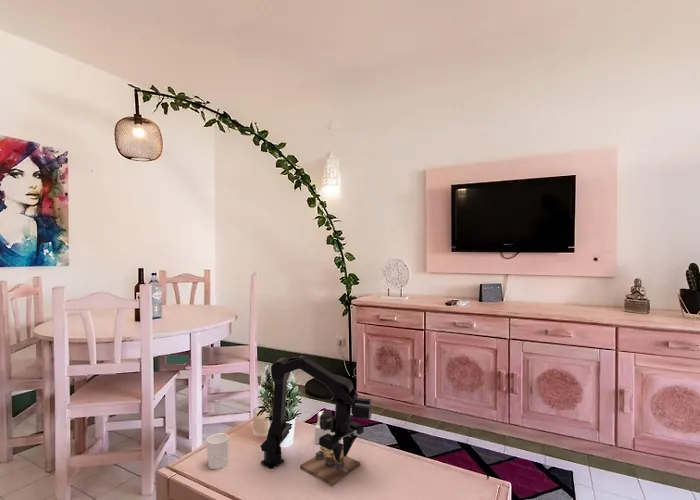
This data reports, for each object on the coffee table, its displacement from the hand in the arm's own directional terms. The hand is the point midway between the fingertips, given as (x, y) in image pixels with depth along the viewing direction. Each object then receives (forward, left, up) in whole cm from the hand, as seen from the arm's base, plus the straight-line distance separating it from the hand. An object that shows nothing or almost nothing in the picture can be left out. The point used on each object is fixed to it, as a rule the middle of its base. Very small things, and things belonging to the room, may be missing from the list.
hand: (341, 458), depth 137 cm
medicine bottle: (-21, +14, -6) cm, 26 cm away
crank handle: (-5, +1, -2) cm, 6 cm away
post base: (-6, +1, -6) cm, 9 cm away
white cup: (-40, -25, -6) cm, 48 cm away
